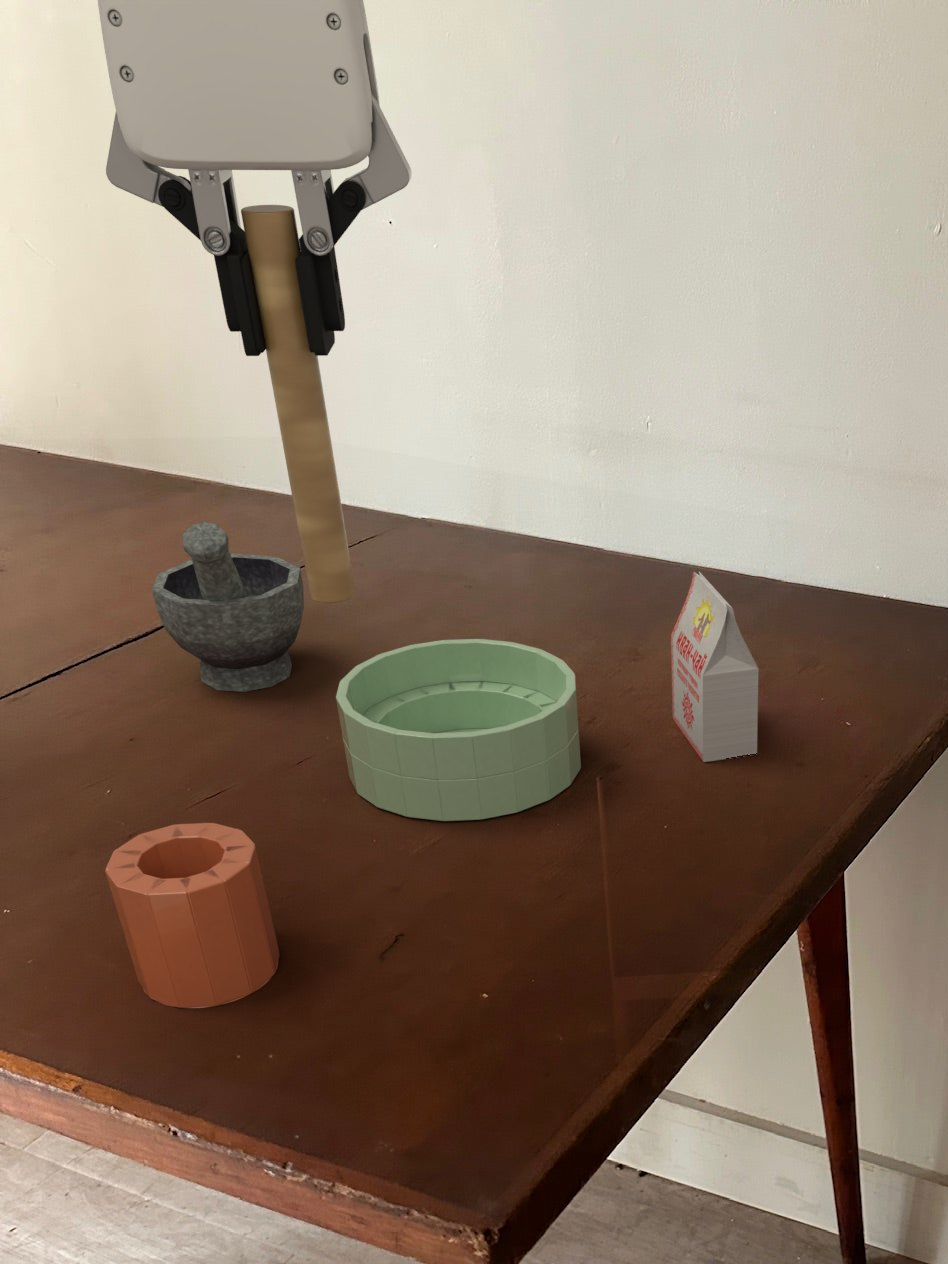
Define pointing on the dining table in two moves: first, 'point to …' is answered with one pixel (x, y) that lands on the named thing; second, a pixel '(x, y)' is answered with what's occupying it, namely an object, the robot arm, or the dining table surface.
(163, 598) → the mortar and pestle
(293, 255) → the stick
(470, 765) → the bowl
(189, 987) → the utensil pot
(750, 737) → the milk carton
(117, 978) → the dining table surface
